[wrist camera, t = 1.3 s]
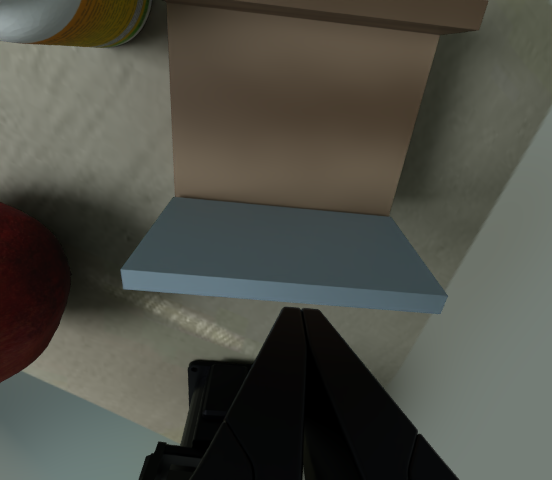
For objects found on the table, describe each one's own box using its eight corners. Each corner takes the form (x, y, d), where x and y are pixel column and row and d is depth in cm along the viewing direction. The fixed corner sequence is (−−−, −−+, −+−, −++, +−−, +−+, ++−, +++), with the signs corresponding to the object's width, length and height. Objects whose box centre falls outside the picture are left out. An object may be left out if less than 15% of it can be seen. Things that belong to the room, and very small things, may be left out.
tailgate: (385, 236, 18) (437, 320, 12) (174, 216, 17) (124, 296, 12) (390, 216, 17) (448, 295, 12) (173, 196, 17) (120, 269, 11)
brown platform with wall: (373, 196, 20) (408, 246, 15) (188, 179, 20) (156, 224, 14) (418, 19, 16) (488, 0, 11) (184, -10, 16) (136, -44, 10)
